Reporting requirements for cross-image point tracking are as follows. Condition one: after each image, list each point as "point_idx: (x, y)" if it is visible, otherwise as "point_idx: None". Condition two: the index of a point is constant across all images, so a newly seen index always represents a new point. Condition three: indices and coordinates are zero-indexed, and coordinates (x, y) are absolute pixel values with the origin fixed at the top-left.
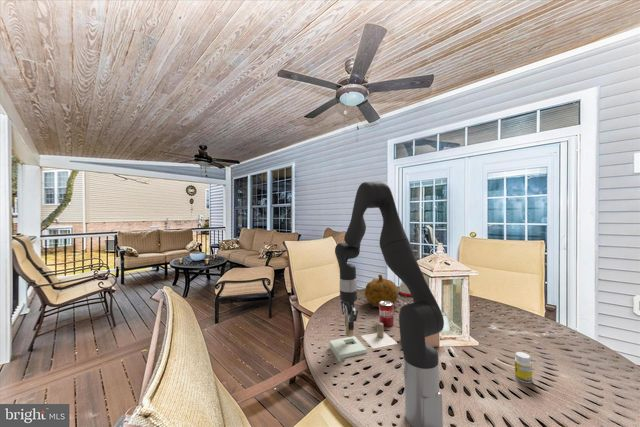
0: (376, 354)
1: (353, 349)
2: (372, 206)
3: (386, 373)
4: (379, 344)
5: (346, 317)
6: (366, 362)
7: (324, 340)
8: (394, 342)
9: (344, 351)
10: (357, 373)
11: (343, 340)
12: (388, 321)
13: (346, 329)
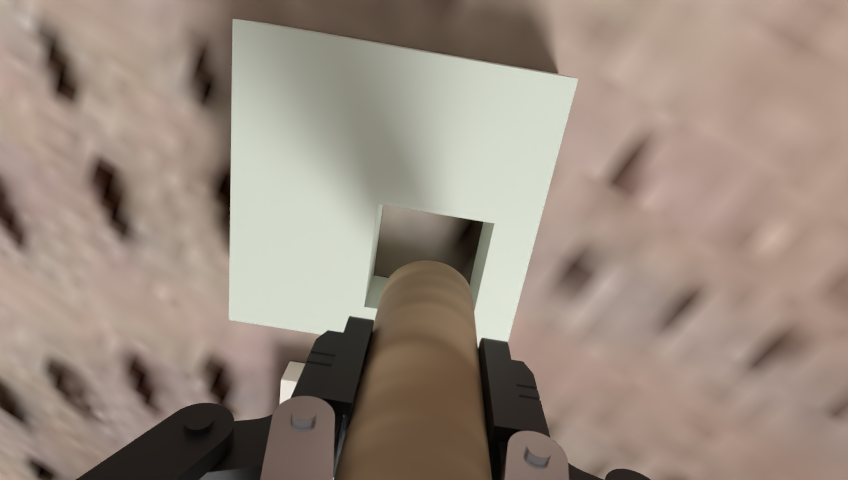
0: (253, 360)
1: (275, 215)
2: None
3: (6, 275)
4: None
5: (391, 445)
6: (179, 235)
7: (724, 95)
8: None
9: (277, 110)
10: (55, 79)
11: (493, 226)
12: None
13: (416, 301)
